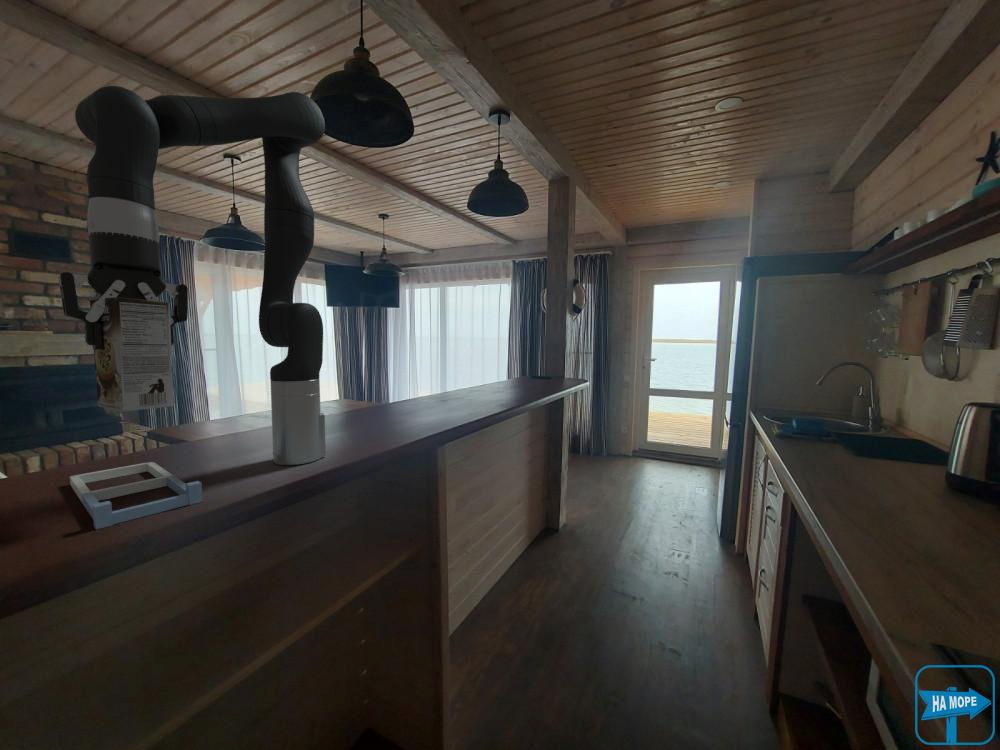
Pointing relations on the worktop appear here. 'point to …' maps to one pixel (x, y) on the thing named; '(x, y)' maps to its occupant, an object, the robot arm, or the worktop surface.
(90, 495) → the frame
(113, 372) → the coffee box
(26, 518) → the worktop surface
